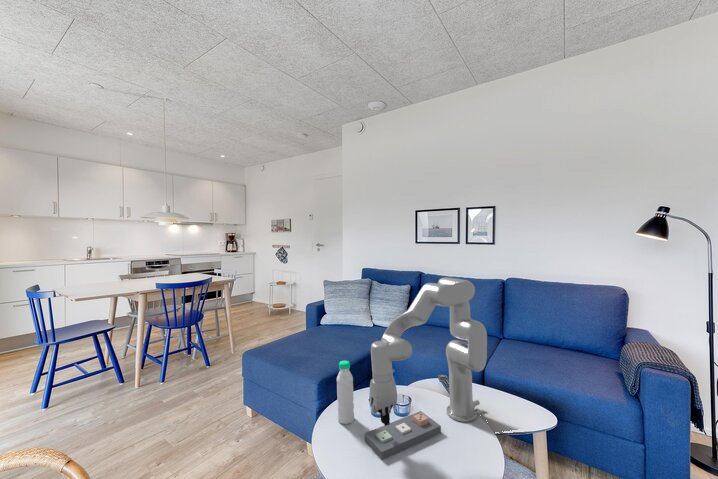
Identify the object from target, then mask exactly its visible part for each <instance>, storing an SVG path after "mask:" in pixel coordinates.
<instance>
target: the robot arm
mask: <svg viewBox="0 0 718 479" xmlns="http://www.w3.org/2000/svg"><path fill="white" fill-rule="evenodd" d="M475 293H476V288H475V286H474V283H472V282H471V281H470V280H467V279H464V278H463V279H461V278H456V277H446V276H445V277H442V278H439V280H438V282H437V283H434V282H427V283H425V284H423V285H422V287H421V288H420V290H419V291H418V293H417V295H416V296H415V298H414V300H412V303H411V304H410V306H409V307H408V309H407V310H406V311H405V312H403V313H402V314H400V315H398V317H395V319H394V320H392V321H391V323H390V324H389V325H388V326H387V328H386V329H385V331H384V333H383V335H382V337H381V339H380V340H376V341H373V342H372V343H371V345H370V357H371V358H370V359H371V371H372V374H371V375H372V378H371V379H370V382H369V405H370V406H371V412H372V413H374V414H377V413H379V414H380V422H381V423H382V424H383V426H384V425H385V426H387V425H389V424H390V423H391V421H390V414H391V411H392V409H393V408H394V406H396V404H397V403H398V390H397V385H396V384H397V383H396V380H395V377H394V375H393V374H394V373H395V371H396V370H395V369H394V368H393V364H392V362H397V361H405V360H407V359H409V358H410V357H411V356H412V353H413V346H412V344H411V343H410V342H409V341H408V340H406V339H404V338H402V337H401V336H402V334H403V333H404V332H405V331H407V330H408V329H410V328H413V327H417V326H421V325H424V324H426V323H427V321H428V319H429V318H430V316H431V314H432V313H433V311H434V309H435V308H436V306H439V307H443V308H445V307H446V308H447V307H448V308H449V332H450V335H451V336H452V337H453V338H456V339H454V340H451V341H449V342H448V343H447V345H446V348H445V355H446V360H447V365H448V386H449V405H447V407H446V414H447V416H448V417H449V418H451V419H453V420H454V421H458V422H461V423H462V422H464V423H469V422H473V421H474V420H476V419H477V417H478V414H477V413H478V412H477V410H476V409H475V408H476V406H479V405H480V404H481V402H480V400H479V399H476V400H473V374H472V371H473V372H477V373H478V372H481V371H483V370H484V369H485V366H486V365H487V360H488V359H487V358H488V356H487V354H488V353H487V352H488V350H487V349H488V333H487V328H486V326H485V325H484V324H483V323H482V322H480V321H478V320H476V319H472V317H471V305H470V302H469V301H470V300H472V299H473V297H474V296H475ZM457 339H459V340H457Z"/></svg>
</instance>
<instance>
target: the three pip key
mask: <svg viewBox="0 0 718 479" xmlns="http://www.w3.org/2000/svg"><path fill="white" fill-rule="evenodd" d="M424 414H425V413H424ZM424 414H422V413H419V414H417V415H414V416H413V422H414V423H415V424H417V425H418V426H419V427H422V426H425V425H427V424H429V418H430V417H429V416H428V417H429V418H428V417H426V416H425V415H426V414H425V415H424Z"/></svg>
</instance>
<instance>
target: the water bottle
mask: <svg viewBox="0 0 718 479" xmlns="http://www.w3.org/2000/svg"><path fill="white" fill-rule="evenodd" d="M350 363H351V362H350V361H349V360H341V361H339V363H338V368H339V372H338V374H337V376H336V396H337V398H336V399H337V420H338V422H339V423H341V424H342V425H348V424H350V423H353V421H355V412H354V410H355V404H354V383H353V382H354V377H353V375H352V373H351V371H350V368H351V364H350Z"/></svg>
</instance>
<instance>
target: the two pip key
mask: <svg viewBox="0 0 718 479" xmlns="http://www.w3.org/2000/svg"><path fill="white" fill-rule="evenodd" d="M376 438H377V439H378V440H379V441H380V442H381V443H382V444H383V443H385V442H387V441H390V440H392V436H391V435H390V434H389V433H388V432H387V431H386V430H385V431H382V432H380V433H377V434H376Z"/></svg>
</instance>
